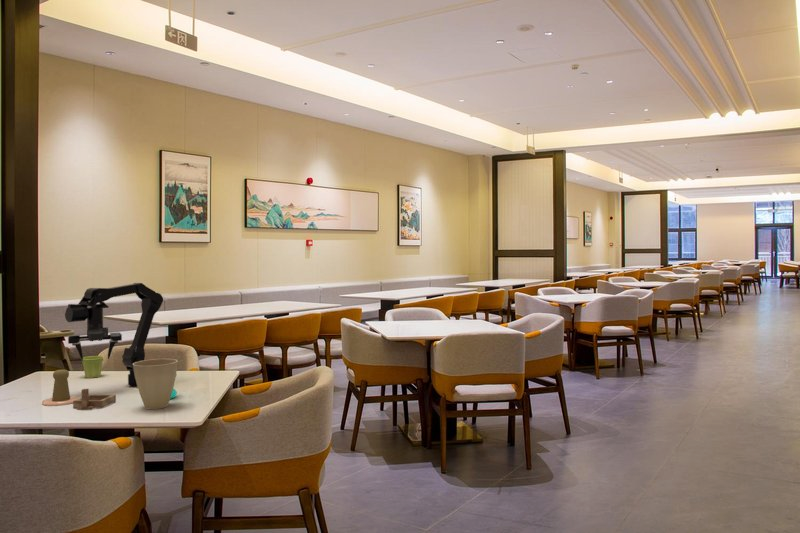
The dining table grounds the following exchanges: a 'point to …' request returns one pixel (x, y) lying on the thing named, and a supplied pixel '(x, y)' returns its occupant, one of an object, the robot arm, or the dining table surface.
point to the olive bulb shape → (61, 386)
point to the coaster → (51, 403)
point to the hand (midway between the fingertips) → (95, 359)
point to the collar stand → (93, 401)
